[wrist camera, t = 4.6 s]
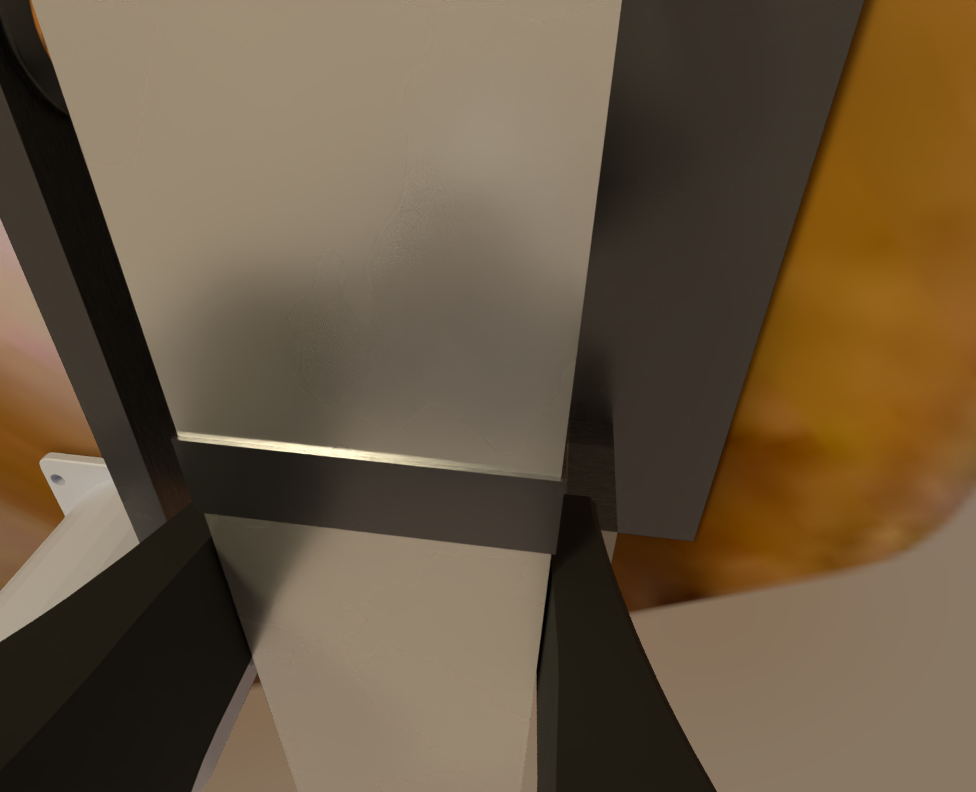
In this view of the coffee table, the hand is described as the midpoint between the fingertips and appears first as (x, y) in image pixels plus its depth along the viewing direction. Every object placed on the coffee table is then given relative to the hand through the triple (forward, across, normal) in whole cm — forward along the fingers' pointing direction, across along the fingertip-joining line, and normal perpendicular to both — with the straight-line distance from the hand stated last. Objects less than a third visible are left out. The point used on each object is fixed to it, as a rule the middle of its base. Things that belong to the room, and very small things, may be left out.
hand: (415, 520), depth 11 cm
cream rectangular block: (+2, 0, 0) cm, 2 cm away
